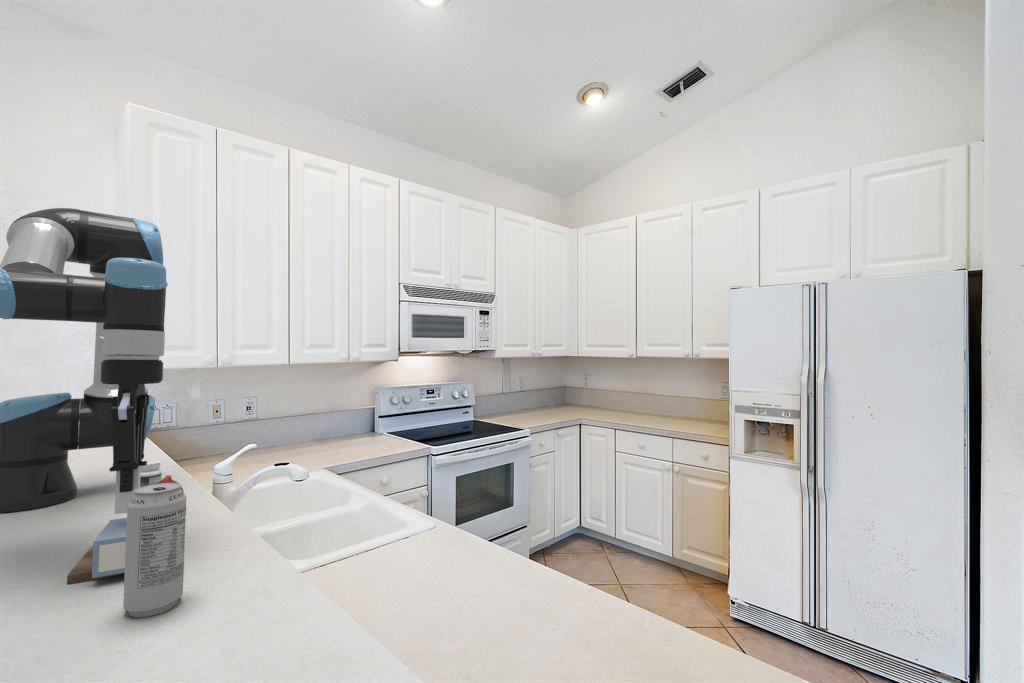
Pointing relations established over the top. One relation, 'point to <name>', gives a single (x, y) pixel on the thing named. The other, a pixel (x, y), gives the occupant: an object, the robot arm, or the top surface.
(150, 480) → the pill bottle
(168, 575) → the energy drink can
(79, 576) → the board
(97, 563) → the block
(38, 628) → the top surface
